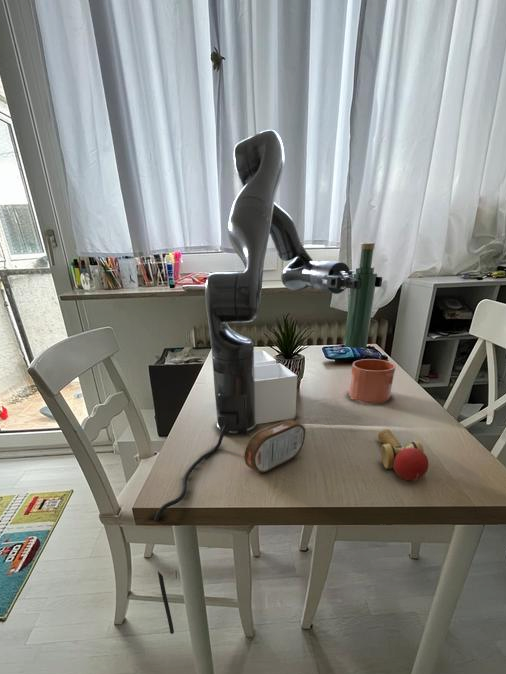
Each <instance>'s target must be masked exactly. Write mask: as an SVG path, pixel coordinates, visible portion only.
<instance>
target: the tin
mask: <svg viewBox="0 0 506 674" xmlns="http://www.w3.org/2000/svg"><path fill="white" fill-rule="evenodd" d="M305 438H306V428H305V426H304V425H303V424H301V423H300V422H298V421H296V420H295V419H293V418H292V419H286V420H281V421H280V422H278V423H276V424H273V425H270V426H267V427H265V428H263V429H260V430H257V432H255V433H254V434H253V435H252V436H251V438H250V439H249V441H248V442H247V444H246V447H245V449H244V453H243V454H244V455H243V459H244V463H245V465H246V466H247V467H248V468H250V469H252V470H254V471H255V472H257V473H261V474H262V473H266V472H268V471H271V470H273V469H275V468H277V467H279V466H281V465H283V464H285V463H287V462H289V461H291V460H293V459H294V458H296V457H297V456H298V454H299V453H300V452H301V450H302V449H303V447H304V445H305Z"/></svg>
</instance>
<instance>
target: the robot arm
mask: <svg viewBox="0 0 506 674" xmlns="http://www.w3.org/2000/svg"><path fill="white" fill-rule="evenodd" d="M233 160H234V167H235V171H236V174H237V176H238V178H239V181H240V183H241V184H242V187H243V188H241V190H240V191H239V192H238V194H237V195H236V197H235V200H234V201H233V204H232V205H231V206H232V207H231V210H230V214H229V219H228V224H227V235H228V238H229V242H230V243H231V246H232V249H233V250H234V251H235V252H236V254H237V256H238V257H239V259H240V260H241V262H242V263H243V266H244V267H245V270H244V271H232V272H231V271H229V272H227V271H225V272H224V271H223V272H221V271H220V272H211V273H210V274H209V275H208V276H207V277H206V281H205V285H204V286H205V287H204V298H205V300H204V301H205V308H206V309H205V310H206V316H207V323H208V331H209V341H210V347H211V348H210V349H211V358H212V373H213V386H214V399H215V400H214V401H215V412H216V428H217V430H218V431H220V434H219V436H218V440H217V443H216V444H215V446H214V447H213V448H212V449H211V450H209V451H208V452H206V453H204V454H202V455H200V457H199V458H197V460H195V462H193V464H191V466H190V467H188V469H187V471H186V472H185V474H184V476H183V478H182V490H181V492H180V494H179V496H177V497H176V498H175V499H172V500H169V501H168V502H166V503H164V504H162V506H161V507H159V509H158V510H157V512H156V514H155V515H154V520H153V521H155V522H158V521H159V520H160V518H161V516H162V514H163V512H164V511H165V510H166V509H168V508H170V507H171V506H174V505H176V504H178V503H180V502H181V501H182V500H183V499H184V497H185V496H186V493H187V485H188V479H189V477H190V475H191V473H192V472H193V471H194V469H195V468H196V467H197V466H198V465H199V464H200V463H201V462H202V461H203V460H205V459H206V458H208V457H210V456H212V455H213V454H214V453H216V452H217V450H218V449H219V448H220V446H221V445H222V443H223V439H224V436H225V435H242V436H243V435H245V436H246V435H247V434H248V433H250V432H252V431H253V430H255V428H256V426H257V424H256V421H255V384H254V351H255V345H254V341H253V340H252V339H251V338H249V337H247V336H245V335H242V334H240V333H238V332H237V331H235V330H234V329H232V328H231V327H230V326H229V324H228V323H250V322H253V321H255V320H256V318H257V317H258V314H259V311H260V307H261V301H262V289H263V277H264V268H265V267H264V266H265V259H266V254H267V248H268V243H269V238H270V237H271V240H272V243H273V245H274V247H275V251H276V252H277V253H276V254H277V255H278V257H279V258H280V260H282V261H283V262H289V261H291V262H289V263H288V264H287V265H286V266H285V267H284V268H283V269H282V271H281V275H280V280H281V282H282V284H283V286H284V287H285V288H287V289H288V290H290V291H303V290H307V289H314V290H318V291H320V292H324V293H329V294H333V295H338V294H341V293H343V292H344V291H345V290H346V289H350V288H352V289H359V288H360V279H358V278H351V277H352V273H353V272H356V270H351V269H350V267H349V266H348V264H347V263H345V262H342V261H333V260H313V258H312V257H311V256H310V254H309V253H308V252H307V250H306V248H305V247H304V245H303V244H302V241H301V238H300V236H299V233H298V230H297V227H296V224H295V222H294V220H293V218H292V217H291V215H289V213H287V211H285V209H283V208H282V207H280V206H279V205H278V204H277V203H276V196H277V192H278V190H279V186H280V183H281V179H282V176H283V172H284V165H285V150H284V145H283V142H282V139H281V137H280V135H279V134H278V133H277V132H276V131H275V130H272V129H266V130H263V131H261V132H258V133H256V134H254V135H251V136H249V137H247V138H245V139H243V140H241V141H240V142H237V144H236V145H235V147H234V151H233ZM382 284H383V276H378V273H377V278H376V285H375V288H381V287H382ZM157 575H158V582H159V586H160V592H161V597H162V601H163V605H164V610H165V614H166V618H167V623H168V628H169V633H170V635H173V634H174V633H175V629H174V624H173V619H172V615H171V610H170V606H169V601H168V597H167V591H166V586H165V581H164V575H163V574H162V573H161V572H160V571H159V570H157Z"/></svg>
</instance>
